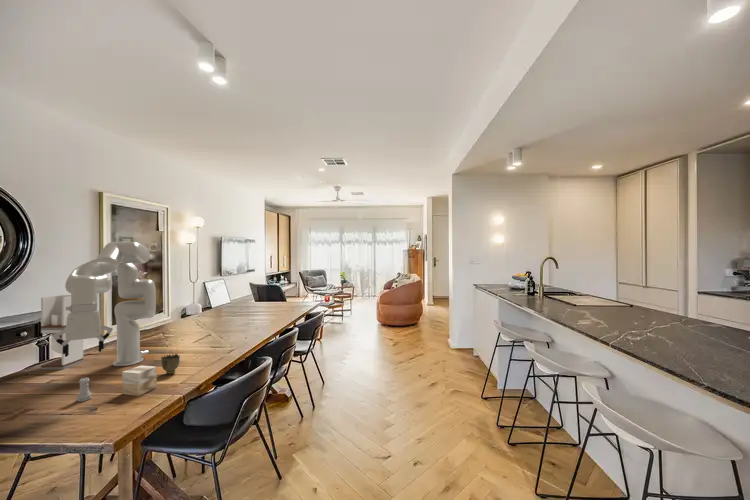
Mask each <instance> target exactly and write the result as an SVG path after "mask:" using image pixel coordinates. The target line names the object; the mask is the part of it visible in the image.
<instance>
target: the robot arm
mask: <svg viewBox="0 0 750 500" xmlns="http://www.w3.org/2000/svg"><path fill="white" fill-rule="evenodd" d="M150 257H151V255H150V250H149V248H148V247H147V246H146V245H144V244H141V243H140V242H137V241H111V242H108V243H107V244H105V246H104V247H103V249H102V250H101V252H100V253H99V254H98V255H97V257H96V258H95V259H92V260H90V261H87V262H85V263H83V264H80V265H79V266H77V267H75V268H74V269H73V270H72V272H71V273H70V274H69V276H68V277H67V278H66V281H65V283H64V284H65V285H64V286H65V290H66V292H68V293H69V294H70V295H71V306H69V307H66V310H70V311H71V313H69V314H68V316H67V321H66V329H64V330H62V331H60V332H58V333H56V334H54V335H53V338H54V339H55V340H56V342H57V343H59V344H61V345H62V346H63V354H65V357H67V356H68V355H69V345H68V342H69V341H70V340H80V339H83V340H88V339H95V338H96V339H98V353H101V352H102V350H104V348H105V347H104V345H105V344H104V341H105V340H106V339H108V337H109V336H110V335H111V333H112V331H113V328H112V327H109V326H106V325H103V324H102V320H101V313H100V310H98V294H105V293H107V292H109V291H110V290H111V289H112V286H113V280H112V278H111V277H110V276H108V275H107V274H110V273H114V272H115V271H116V272H117V293H118V296H119V297H120V298H122V299H141V300H124V301H120V302H117V304H116V305H115V306H114V317H115V321H116V360H114V361H112V366H114V367H127V366H133V365H136V364H139V363H142V362H143V361H144V357H143V356H144V355H148V354H149V350H148V349H147V350H143V351H141V347H140V346H141V345H140V344H141V334H140V333H141V327H140V325H139V323H138V321H136V320H142V319H144V320H145V319H151V318H153V317H154V316H156V310H157V309H156V308H157V305H156V304H157V297H156V296H157V295H156V293H157V291H156V284H155V281H154V280H152V279H148V278H145V279H139V270H138V268H137V266H136V265H135V264H146V263H147V262H149V260H150ZM102 330H104V331H107V332H105V334H104V335H102ZM64 333H66V334H65V336H66V340H65V341H64V340H62V339H60V337H59V336H60V335H62V334H64Z"/></svg>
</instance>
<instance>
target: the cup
mask: <svg viewBox="0 0 750 500" xmlns="http://www.w3.org/2000/svg"><path fill="white" fill-rule="evenodd" d="M180 357H181V354H180V355H179V354H177V353H176V354H172V355H171V354H169V355H168V354H166V355H164V356H161V367H162V369H163V371H165V373H166V374H167V375H172V374H174V373H176V370H177V368H178V367H179V364H180V359H181V358H180Z"/></svg>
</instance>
